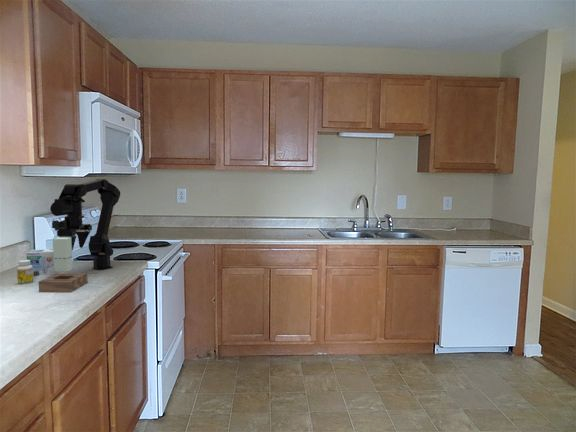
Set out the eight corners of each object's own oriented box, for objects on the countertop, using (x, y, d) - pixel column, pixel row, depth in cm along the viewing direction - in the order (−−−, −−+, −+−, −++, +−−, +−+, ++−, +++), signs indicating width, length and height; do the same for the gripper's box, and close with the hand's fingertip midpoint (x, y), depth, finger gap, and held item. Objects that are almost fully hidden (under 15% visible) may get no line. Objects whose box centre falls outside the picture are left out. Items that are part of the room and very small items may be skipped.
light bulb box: (26, 277, 176) (25, 252, 175) (32, 273, 183) (30, 249, 181) (54, 275, 179) (53, 251, 178) (58, 272, 185) (57, 248, 184)
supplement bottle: (36, 283, 166) (35, 260, 165) (22, 286, 162) (21, 262, 161) (28, 281, 169) (27, 258, 168) (15, 284, 164) (13, 261, 163)
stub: (59, 268, 161) (58, 237, 159) (72, 268, 161) (71, 237, 159) (53, 271, 157) (52, 239, 155) (67, 271, 157) (66, 239, 155)
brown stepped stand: (57, 281, 169) (57, 270, 169) (96, 282, 170) (96, 271, 169) (27, 296, 150) (27, 284, 149) (72, 296, 150) (71, 284, 149)
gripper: (66, 211, 184) (68, 245, 185) (42, 215, 165) (44, 253, 167) (91, 211, 184) (93, 245, 185) (70, 216, 165) (72, 254, 167)
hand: (76, 249), depth 176 cm, fingers open, 9 cm apart
